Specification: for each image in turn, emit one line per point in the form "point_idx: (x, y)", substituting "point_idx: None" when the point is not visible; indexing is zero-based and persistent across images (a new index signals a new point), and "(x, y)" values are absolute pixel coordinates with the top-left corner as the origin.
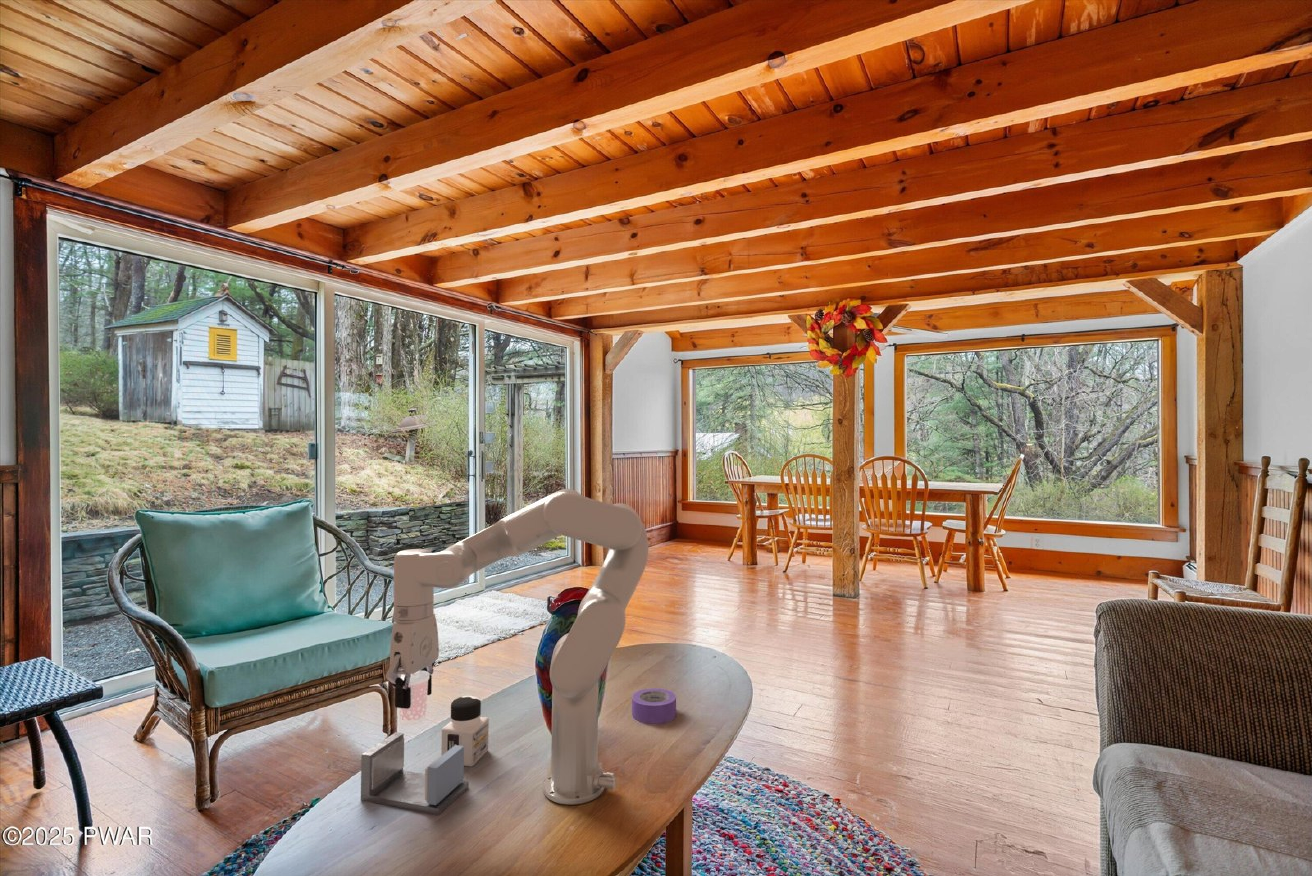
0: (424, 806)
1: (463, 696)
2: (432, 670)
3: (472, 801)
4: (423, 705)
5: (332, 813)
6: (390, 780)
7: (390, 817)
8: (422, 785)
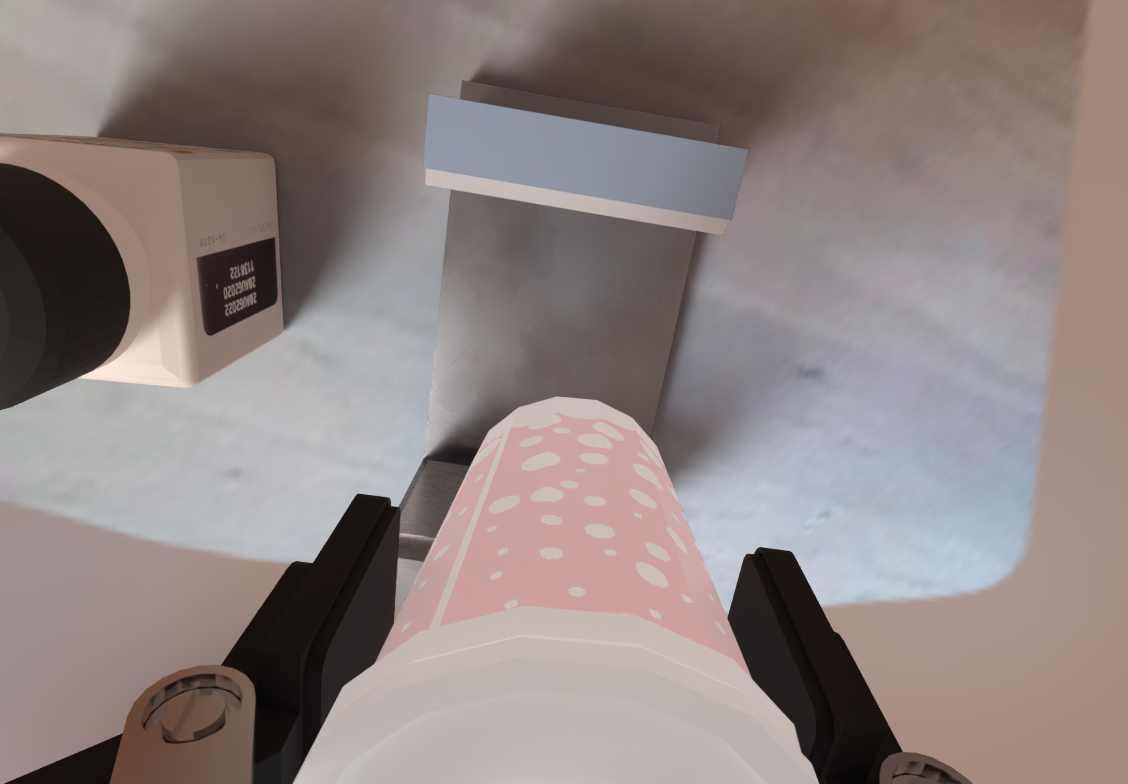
0: None
1: None
2: (150, 714)
3: (583, 2)
4: (597, 456)
5: (723, 565)
6: None
7: (739, 339)
8: (533, 307)
